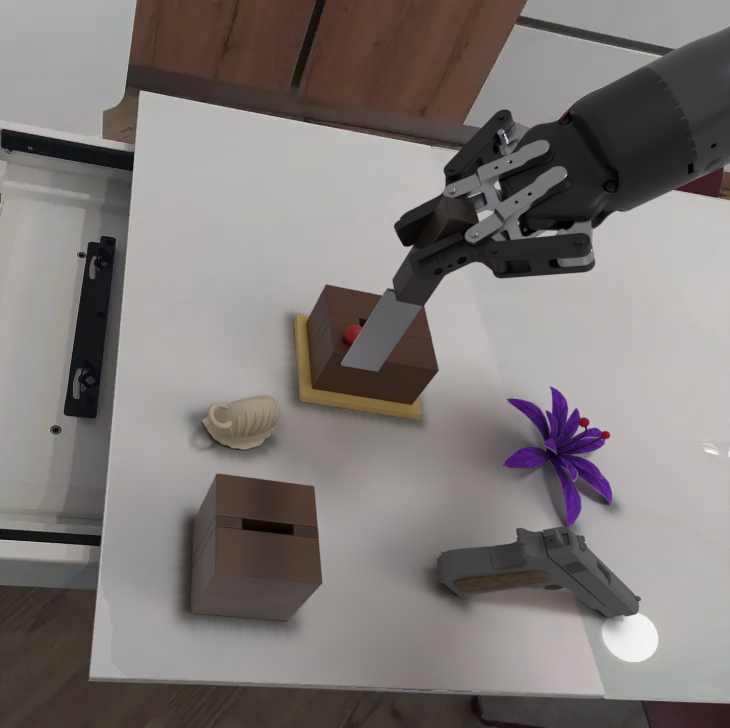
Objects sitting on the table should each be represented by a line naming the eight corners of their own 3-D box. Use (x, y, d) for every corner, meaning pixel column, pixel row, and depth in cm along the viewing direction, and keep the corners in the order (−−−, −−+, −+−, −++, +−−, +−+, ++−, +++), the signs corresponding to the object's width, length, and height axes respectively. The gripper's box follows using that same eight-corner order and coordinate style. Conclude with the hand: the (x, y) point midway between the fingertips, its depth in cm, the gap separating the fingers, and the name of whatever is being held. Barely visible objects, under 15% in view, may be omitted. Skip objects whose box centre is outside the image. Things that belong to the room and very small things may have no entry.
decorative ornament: (281, 443, 70) (299, 411, 66) (199, 457, 66) (213, 425, 62) (266, 408, 72) (283, 375, 68) (185, 420, 68) (199, 386, 64)
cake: (402, 339, 83) (439, 286, 77) (418, 420, 77) (459, 369, 70) (293, 319, 81) (321, 262, 74) (299, 401, 74) (331, 346, 67)
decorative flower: (526, 366, 82) (577, 337, 76) (622, 468, 81) (681, 447, 75) (470, 441, 74) (522, 415, 68) (576, 555, 73) (638, 540, 67)
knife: (375, 359, 61) (480, 203, 48) (379, 381, 60) (487, 225, 47) (339, 353, 60) (436, 193, 48) (342, 374, 59) (442, 215, 46)
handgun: (427, 549, 64) (564, 508, 58) (517, 613, 74) (642, 584, 68) (431, 580, 62) (573, 542, 56) (523, 641, 72) (651, 614, 66)
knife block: (283, 530, 64) (314, 485, 58) (287, 621, 59) (323, 583, 53) (193, 519, 62) (216, 472, 56) (190, 613, 57) (215, 572, 51)
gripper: (611, 11, 46) (357, 150, 51) (738, 155, 38) (421, 303, 43) (621, 97, 51) (392, 214, 57) (734, 238, 43) (455, 360, 49)
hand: (406, 252), depth 50 cm, fingers closed on knife, 2 cm apart
